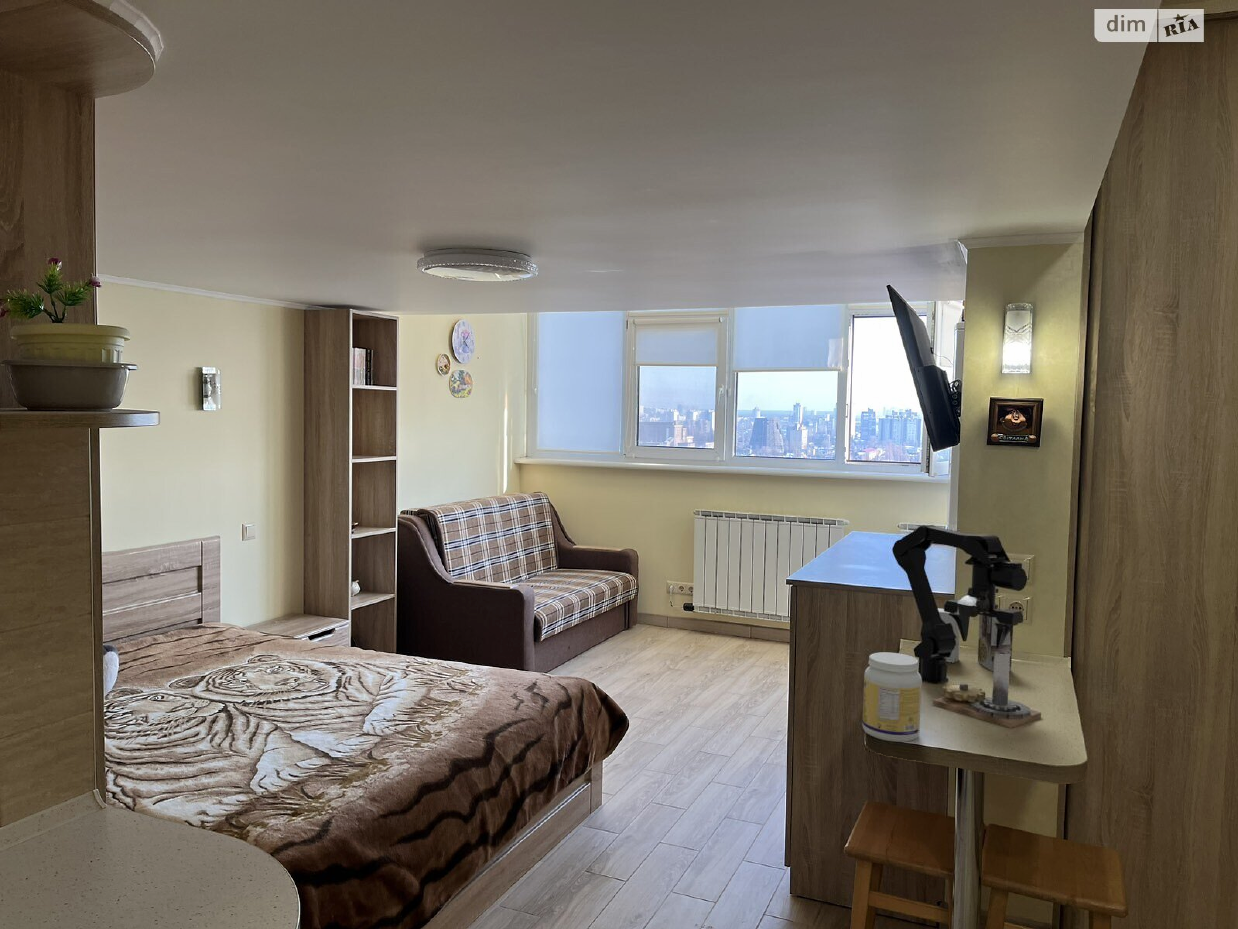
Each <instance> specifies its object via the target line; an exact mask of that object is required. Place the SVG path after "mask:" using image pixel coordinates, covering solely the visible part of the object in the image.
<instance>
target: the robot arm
mask: <svg viewBox="0 0 1238 929" xmlns="http://www.w3.org/2000/svg"><path fill="white" fill-rule="evenodd" d="M933 542H934V543H938V544H940V545H946V546H950V547H952V548H956V549H960V550H962V551H963V552H964V553H965V554H967V555H969V556H970V557H969V559H967V560H965V561H964V564H965V565H969V566H971V567H972V569H971V570H972V571H971V587H968V589H967V594H966V595H964V596H963V597H961V599H959V598H958V599H950V600H946V601H945V602H944V604H943V609H944V611H945V612H950V613H948V614H949V616H952V617H953V618H954V619H955V621H956V623H957V625H958V628H959V635H961V639H962V641H963V642H967V640H968V635H969V627H970V617H971V618H976V617H978V616H979V614H980V615H985V616H990V617H995V618H996V619H997V620H998V623H995V625H996V627H997V639H996V648H997V649H1000V648H1001V646H1002V644H1003V642H1004V640H1005V638H1006V636H1007V635H1008V633H1009V631H1010V630H1011V629H1012V627H1013V628H1014V626H1017V625H1019V624H1022V623H1024V614H1023V613H1022V611H1021V610H1018V609H1017V610H1016V609H1010V608H1004V609H1001V610H999V611H998V610H995V609H999V604H996V596H997V595H996V594H998V593H999V588H1001V589H1006V590H1011V591H1015V592H1016V591H1017V592H1020V591H1022V590H1024V589H1025V587H1026V586H1027V582H1028V581H1027V580H1028V576H1027V573H1026V570H1024V568H1023V563H1022V562H1012V561H1011V559H1010V557H1009V556H1008V554H1007V552H1006V550H1005V548H1004V547H1003V544H1002V542H1001V540H1000V537H999V536H997V535H995V534H970V533H969V534H968V533H964V532H959V531H956V530H951V529H948V528H942V527H938V526H936V525H934V524H924V525H923V524H922V525H920V526H918V527H917V528H916V529H914V530H913V531H912V532H910V533H908V534H906V535H905V536H903V537H901V539H898V540H896V541H895V542H894V544H893V546H892V549H891V550H892V554H893V557H894V558H895V561H896V563H897V564H898V566H899V567H900V568H901V569H902V570H903V571H904V572H905V573H906V575H907V580H908V582H909V585H910V589H911V591H912V595H913V598H914V601H915V604H916V606H917V610H918V613H919V616H920V620H921V623H922V624H921V629H920V639H921V641H920V642H919V643H918V644H917V645H916V646H915V647H914V648H913V653H914V658H918V666H919V669H918V670H917V672H918V673H919V674H920V675H921V678H922V682H926V683H932V684H935V685H936V684H941V683H944V682H948V681H949V678H948V677H947V675H948V664H947V662H946V659H945V658H946V657H950V655H951V653H952V651H953V649H954V648H955V646H956V640H955V638H957V637H956V635H955V634H954V631H953V626H952V624H951V623H945V622H944V621H943V620H942V619H941V617H940V614H939V611H938V606H937V603H936V598H935V597H934V593H933V589H932V588H931V584H930V581H929V578H928V576H927V572H926V568H925V566H926V561H927V554H926V551H927V550H928V549H929V548H931V546H932V544H933ZM986 612H989V613H986Z"/></svg>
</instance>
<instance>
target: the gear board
mask: <svg viewBox="0 0 1238 929" xmlns="http://www.w3.org/2000/svg"><path fill="white" fill-rule="evenodd" d="M941 693H942V695H944V696H941V697H938V698H934V699H932V705H933V706H936V705H937V706H936V707H939V708H943V709H947V710H948V711H953V712H957V713H959V714H962V715H966V716H969V715H971V716H970V717H972V716H974V717H973V718H975V717H976V718H977V719H978V720H979V719H980V720H981V721H982V720H983V721H986V722H989V723H992V722H993V723H992V724H996V725H998V726H999V725H1000V726H1002V727H1005V728H1009V729H1012V728H1014V727H1017V726H1022V725H1023V724H1027V723H1028V722H1032V721H1035V720H1038V719H1040V717H1041V718H1042V712H1041V711H1038V710H1033V709H1031V707H1029V706H1028V705H1025V704H1023V703H1021V702H1018V701H1015V700H1011V699H1008V701H1009V702H1010V703H1014V704H1016V706H1017V710H1016V712H1002V711H995V710H991V709H988V708H985V707H983V701H984V700H986V701H987V699H992V697H990V696H989V697H987V696H986V691H985V690H983V689H982V687H981V688H980V687H978V686H977V687H975V686H972V685H971V684H968V683H967V684H966V683H952V684H948V683H947V684H944V685H943V686H942V688H941ZM1026 722H1027V723H1026Z"/></svg>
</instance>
